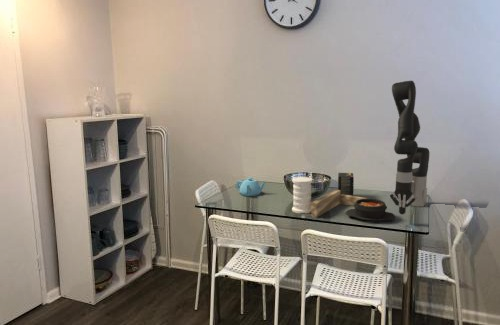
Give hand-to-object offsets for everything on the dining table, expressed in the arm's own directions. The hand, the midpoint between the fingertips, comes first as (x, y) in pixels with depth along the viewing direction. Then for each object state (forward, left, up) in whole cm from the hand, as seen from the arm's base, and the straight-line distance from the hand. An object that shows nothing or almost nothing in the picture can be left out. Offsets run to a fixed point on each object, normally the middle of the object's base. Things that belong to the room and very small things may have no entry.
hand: (402, 214), depth 207 cm
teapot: (+98, -4, -5) cm, 98 cm away
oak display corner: (+34, -2, -5) cm, 34 cm away
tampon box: (+43, -28, -5) cm, 51 cm away
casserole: (+17, 0, -5) cm, 17 cm away
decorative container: (+53, +8, -5) cm, 53 cm away
